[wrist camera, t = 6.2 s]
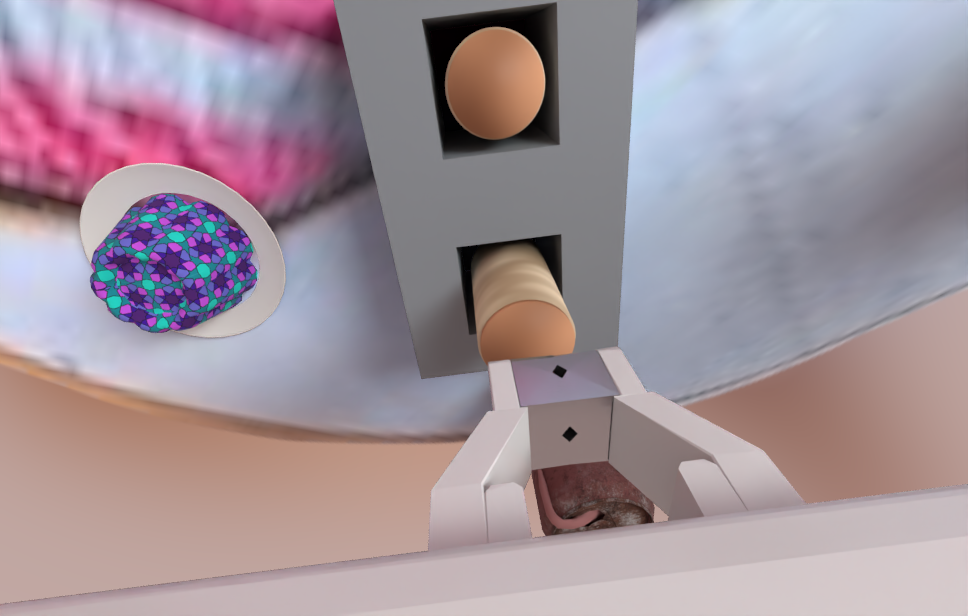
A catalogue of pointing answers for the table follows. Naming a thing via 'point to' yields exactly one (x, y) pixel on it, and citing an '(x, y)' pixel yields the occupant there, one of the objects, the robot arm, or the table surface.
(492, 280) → the peg
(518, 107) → the peg
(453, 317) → the block
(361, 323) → the table surface
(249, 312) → the pudding
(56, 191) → the table surface
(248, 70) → the table surface
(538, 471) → the can
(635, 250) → the table surface
